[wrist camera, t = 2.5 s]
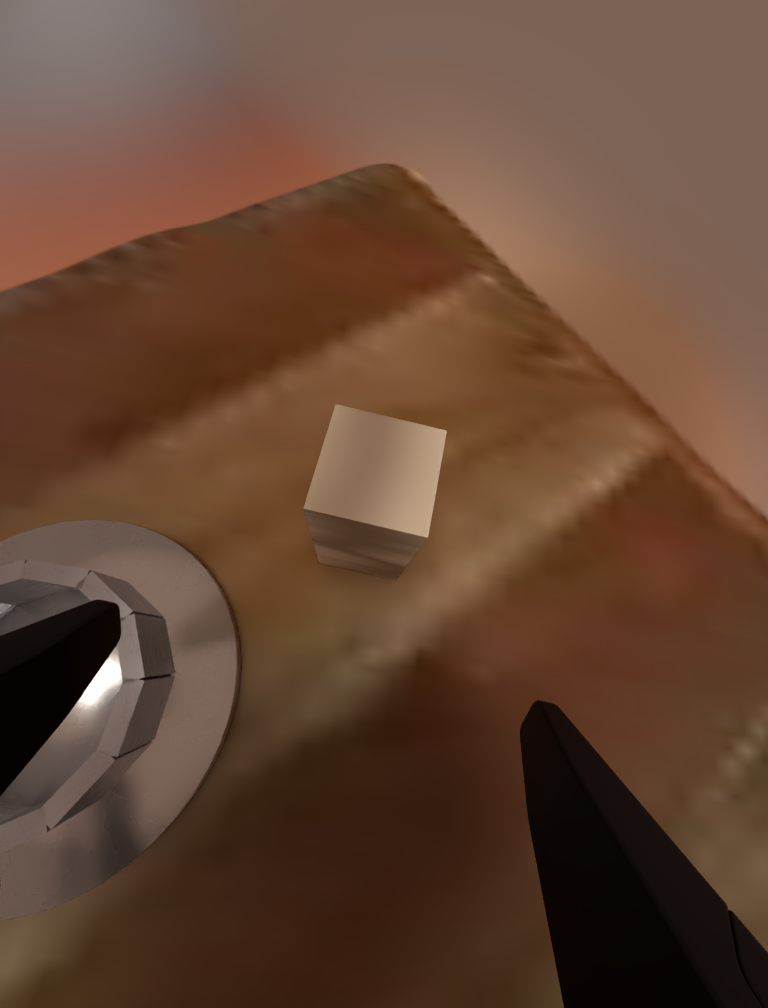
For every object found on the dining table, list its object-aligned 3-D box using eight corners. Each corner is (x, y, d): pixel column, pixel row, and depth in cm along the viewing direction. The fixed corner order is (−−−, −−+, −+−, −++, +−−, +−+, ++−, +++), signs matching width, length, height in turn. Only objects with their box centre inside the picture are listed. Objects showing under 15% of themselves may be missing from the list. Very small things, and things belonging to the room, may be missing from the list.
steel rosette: (308, 659, 20) (300, 661, 16) (12, 1016, 14) (-103, 1145, 11) (102, 471, 22) (53, 435, 18) (-216, 717, 17) (-375, 737, 13)
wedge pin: (409, 509, 23) (446, 430, 15) (395, 580, 22) (427, 537, 13) (338, 492, 23) (335, 404, 15) (318, 562, 22) (303, 508, 13)
